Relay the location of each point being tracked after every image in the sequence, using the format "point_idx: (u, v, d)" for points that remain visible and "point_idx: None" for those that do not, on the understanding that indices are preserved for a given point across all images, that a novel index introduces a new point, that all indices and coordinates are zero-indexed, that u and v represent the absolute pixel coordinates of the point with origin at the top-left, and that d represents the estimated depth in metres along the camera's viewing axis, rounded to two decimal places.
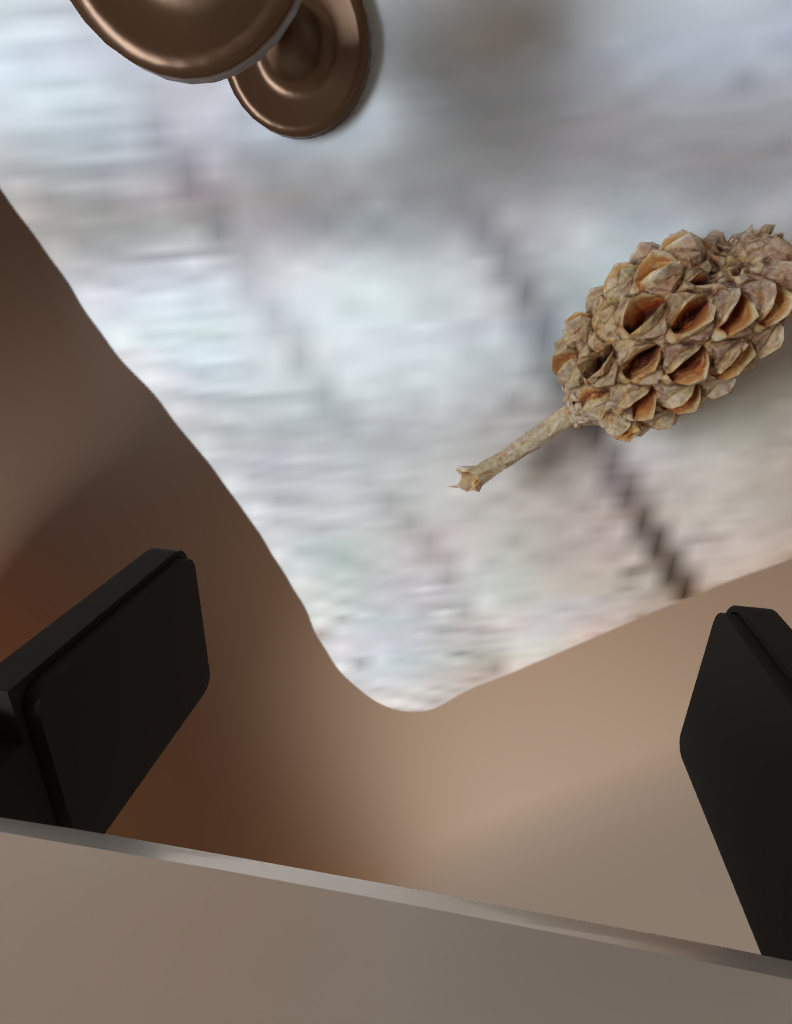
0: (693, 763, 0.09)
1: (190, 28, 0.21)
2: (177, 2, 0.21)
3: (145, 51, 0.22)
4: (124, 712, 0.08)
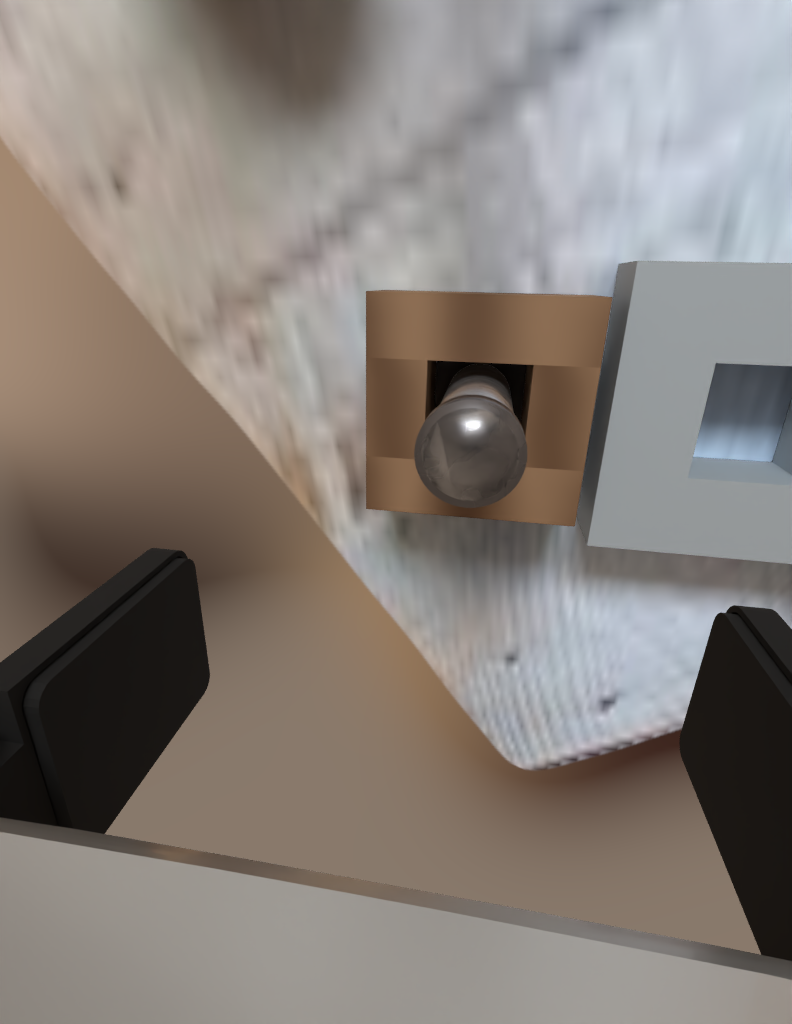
0: (693, 763, 0.09)
1: None
2: None
3: None
4: (124, 712, 0.08)
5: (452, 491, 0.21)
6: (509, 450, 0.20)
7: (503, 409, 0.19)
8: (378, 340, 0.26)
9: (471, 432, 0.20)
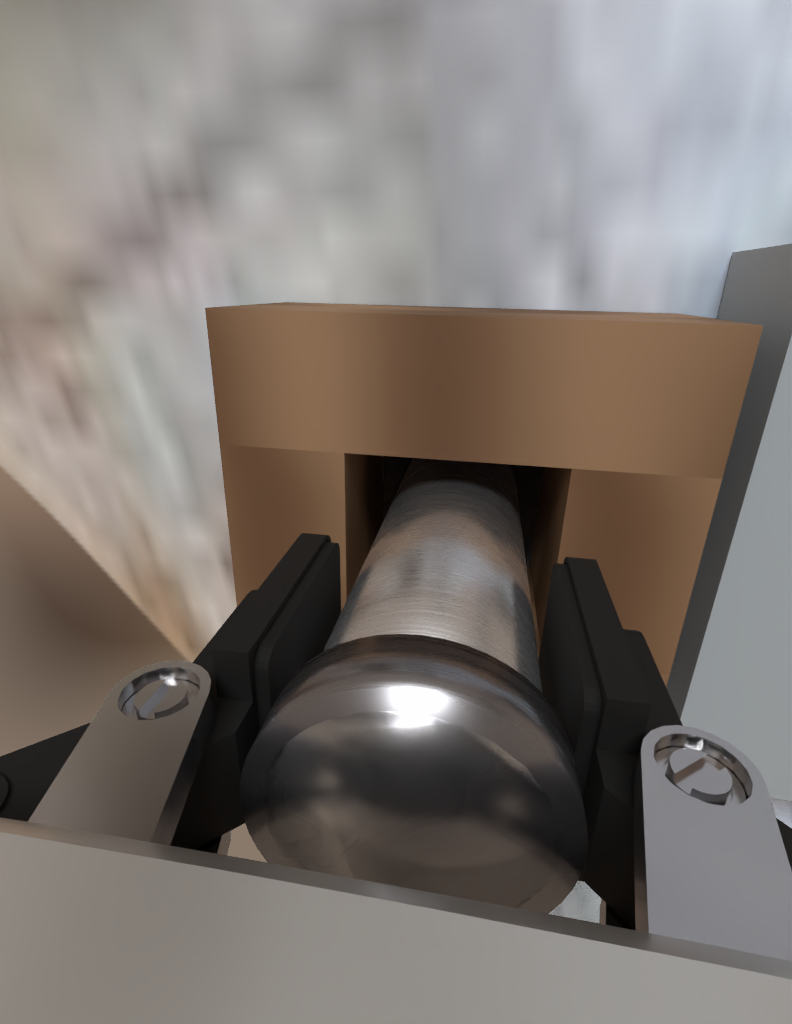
0: None
1: None
2: None
3: None
4: None
5: None
6: (529, 831, 0.06)
7: (511, 721, 0.06)
8: (241, 411, 0.12)
9: (407, 774, 0.06)
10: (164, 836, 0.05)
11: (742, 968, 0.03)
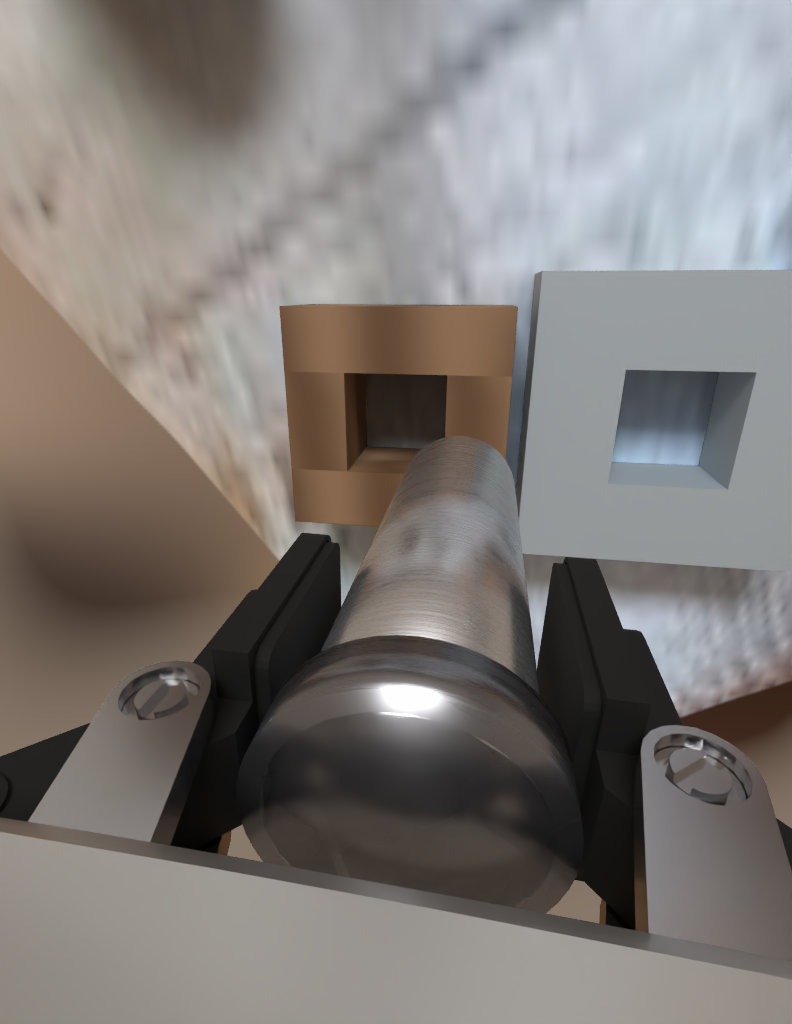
0: None
1: None
2: None
3: None
4: None
5: None
6: (524, 831, 0.06)
7: (506, 722, 0.06)
8: (295, 354, 0.26)
9: (403, 775, 0.06)
10: (164, 836, 0.05)
11: (743, 968, 0.03)
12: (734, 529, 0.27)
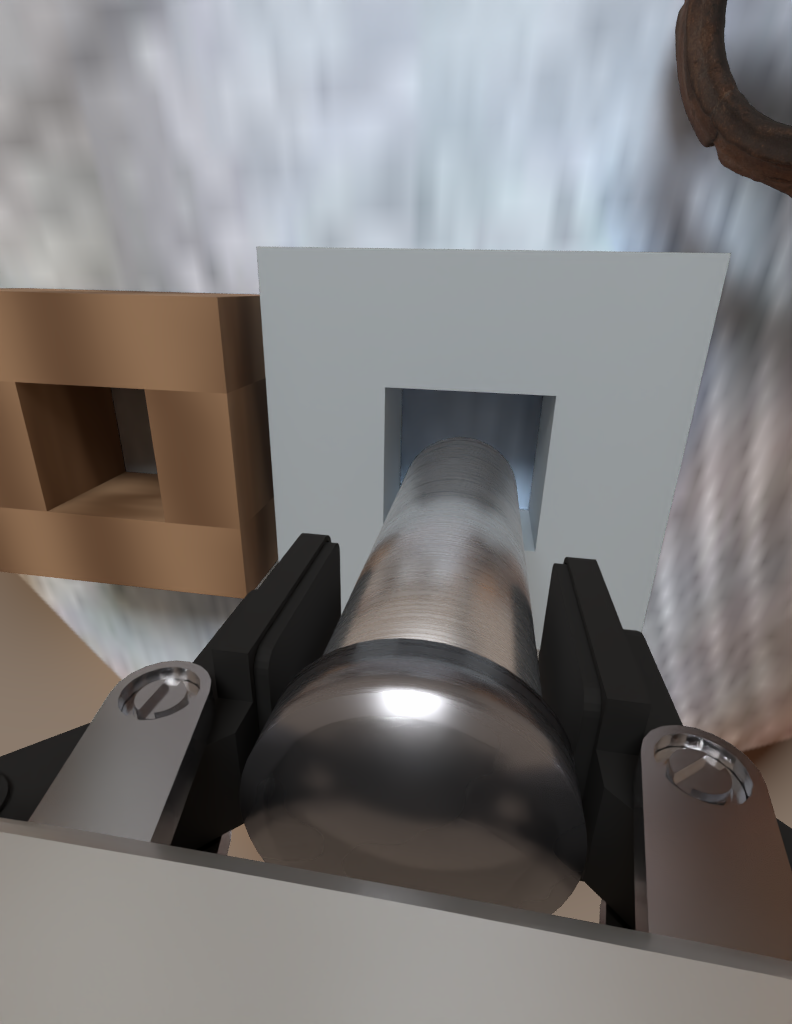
0: None
1: None
2: None
3: None
4: None
5: None
6: (528, 834, 0.06)
7: (510, 726, 0.06)
8: None
9: (406, 778, 0.06)
10: (164, 836, 0.05)
11: (742, 968, 0.03)
12: None
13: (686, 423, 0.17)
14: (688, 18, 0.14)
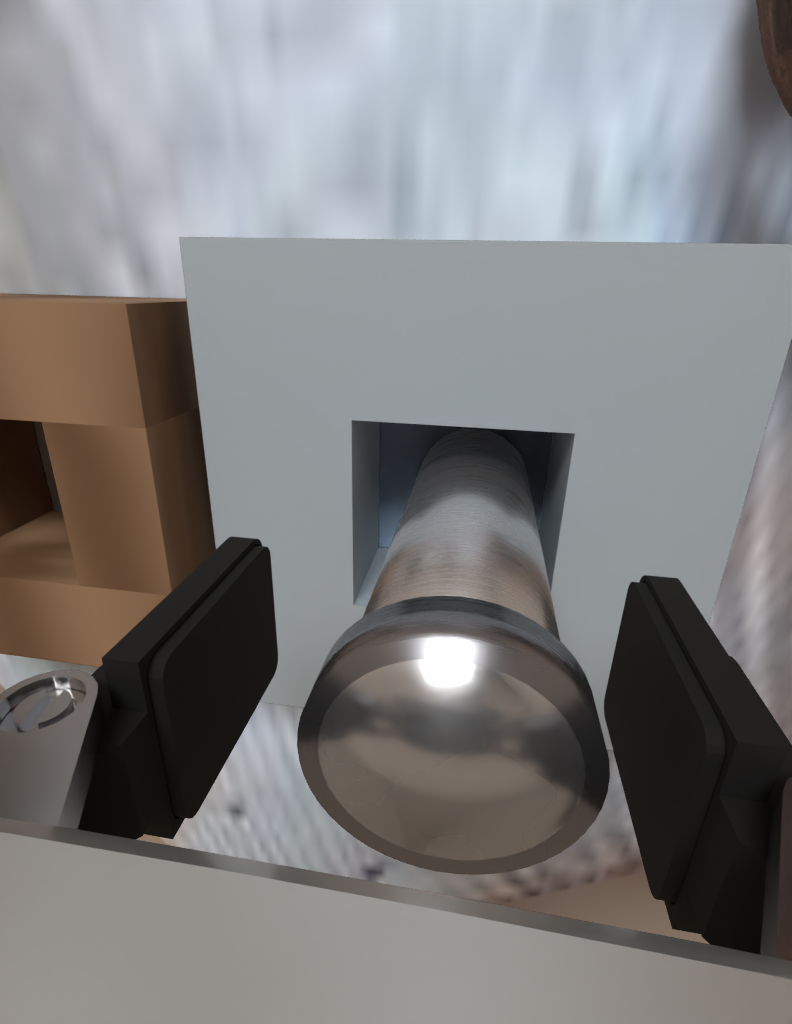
0: (611, 721, 0.10)
1: None
2: None
3: None
4: (219, 688, 0.09)
5: (402, 836, 0.08)
6: (556, 766, 0.07)
7: (543, 666, 0.07)
8: None
9: (449, 716, 0.07)
10: None
11: (743, 968, 0.03)
12: None
13: (747, 470, 0.13)
14: None
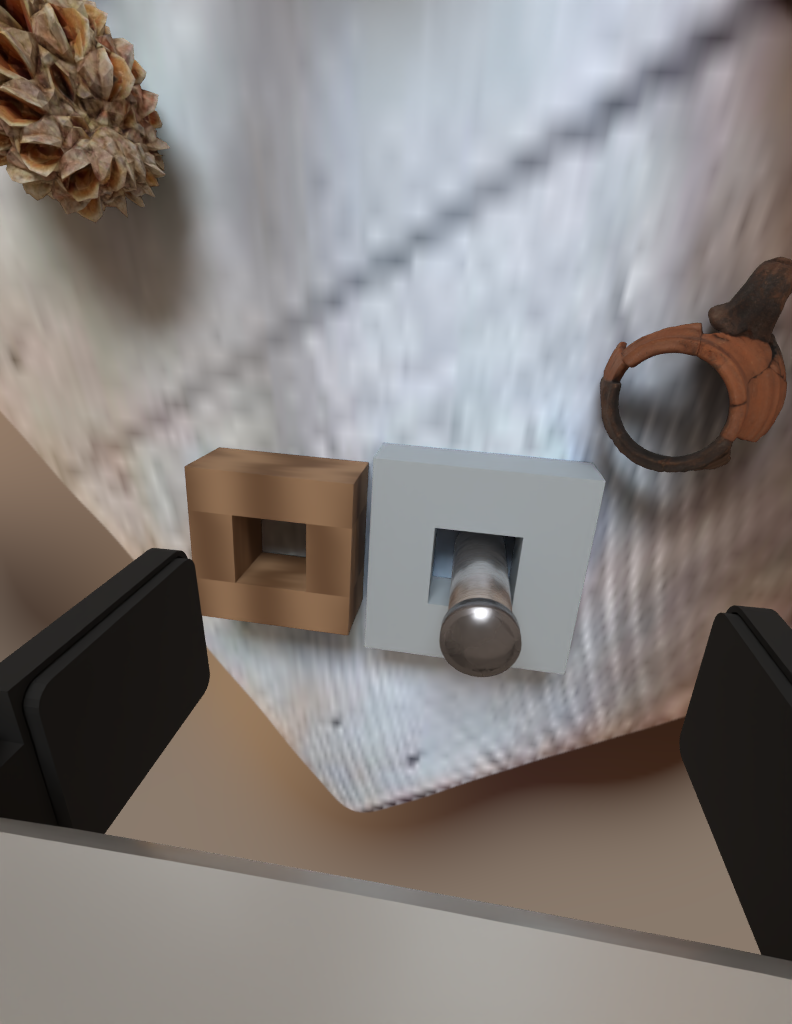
0: (693, 763, 0.09)
1: None
2: None
3: None
4: (124, 712, 0.08)
5: (466, 665, 0.29)
6: (508, 641, 0.28)
7: (505, 615, 0.27)
8: (196, 499, 0.35)
9: (482, 628, 0.28)
10: None
11: (743, 968, 0.03)
12: None
13: (587, 554, 0.34)
14: (601, 402, 0.31)
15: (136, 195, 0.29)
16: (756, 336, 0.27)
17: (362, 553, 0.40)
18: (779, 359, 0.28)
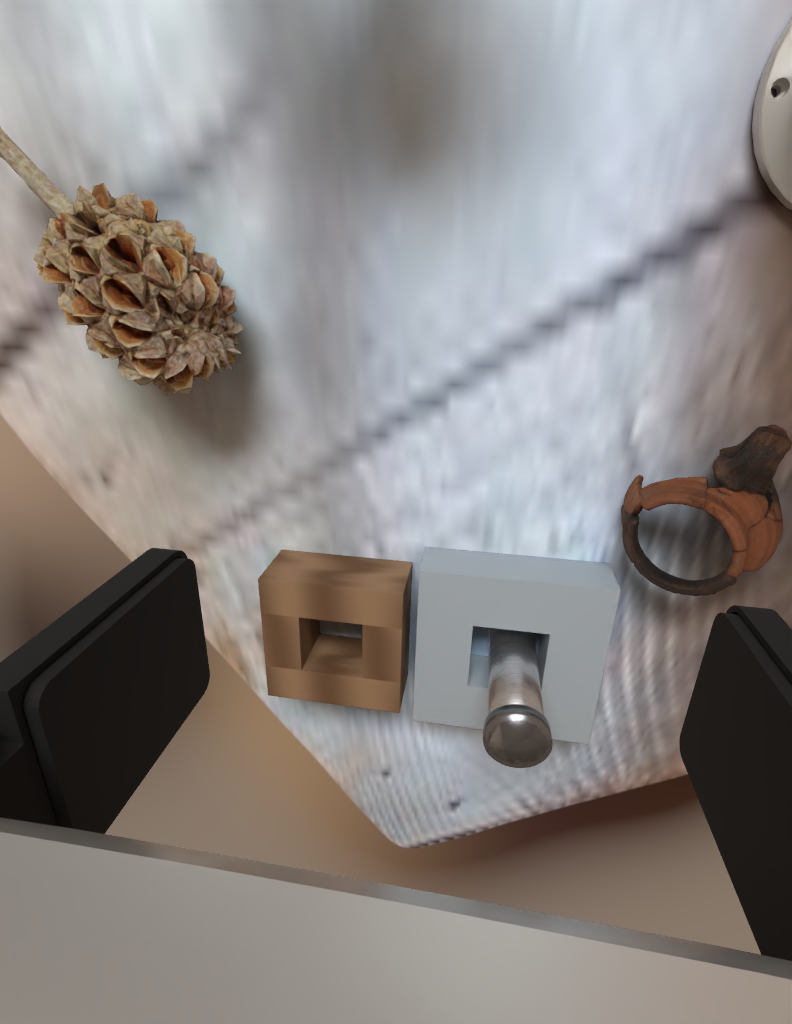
0: (693, 763, 0.09)
1: None
2: None
3: None
4: (124, 712, 0.08)
5: (505, 758, 0.34)
6: (541, 741, 0.33)
7: (538, 721, 0.33)
8: (267, 604, 0.41)
9: (518, 731, 0.33)
10: None
11: (742, 968, 0.03)
12: (546, 716, 0.42)
13: (606, 648, 0.39)
14: (623, 533, 0.36)
15: None
16: (754, 491, 0.32)
17: (408, 637, 0.45)
18: (775, 506, 0.33)
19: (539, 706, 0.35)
